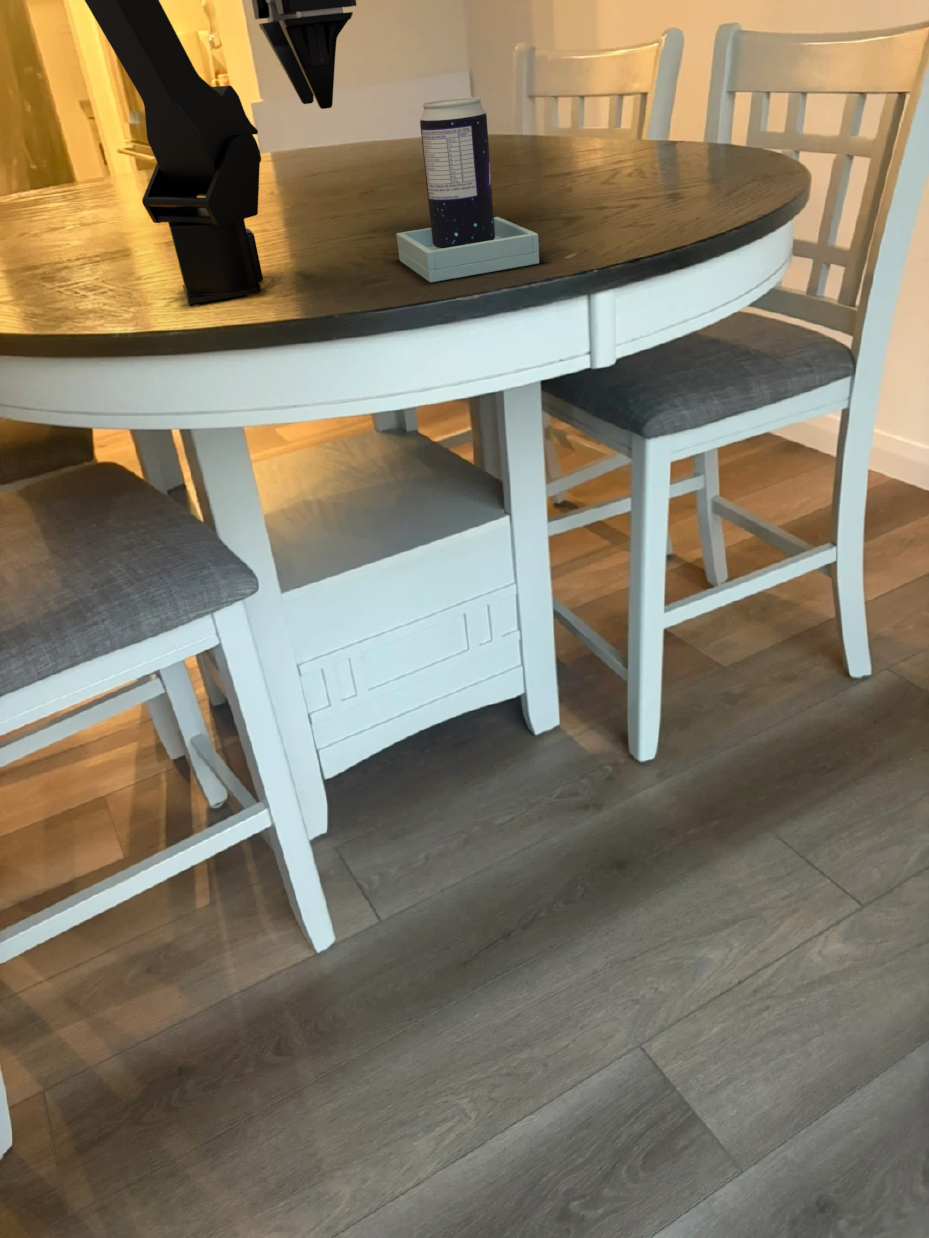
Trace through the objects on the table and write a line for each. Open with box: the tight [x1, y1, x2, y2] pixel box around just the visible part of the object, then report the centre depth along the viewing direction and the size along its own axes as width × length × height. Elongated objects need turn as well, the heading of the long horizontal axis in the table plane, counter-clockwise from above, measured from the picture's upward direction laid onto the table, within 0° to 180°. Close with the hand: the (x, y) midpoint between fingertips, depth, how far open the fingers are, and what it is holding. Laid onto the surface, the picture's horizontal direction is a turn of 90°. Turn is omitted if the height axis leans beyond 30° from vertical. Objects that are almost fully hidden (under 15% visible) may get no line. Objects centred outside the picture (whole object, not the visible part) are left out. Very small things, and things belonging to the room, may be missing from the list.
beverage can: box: [419, 96, 495, 249], centre depth 80 cm, size 6×6×12 cm
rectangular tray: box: [395, 216, 540, 284], centre depth 83 cm, size 10×10×2 cm
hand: (316, 106), depth 86 cm, fingers open, 9 cm apart
